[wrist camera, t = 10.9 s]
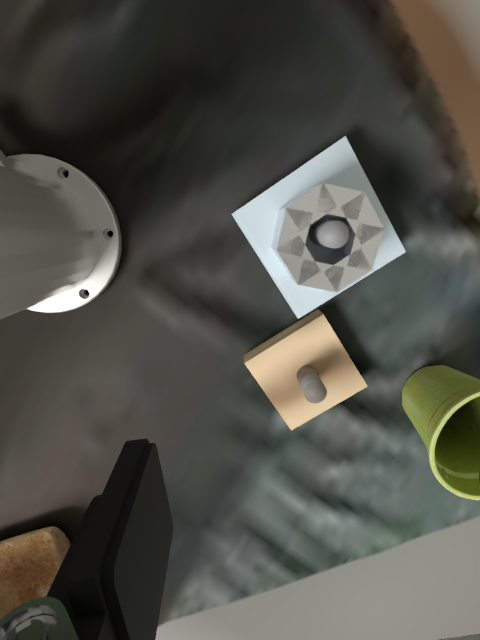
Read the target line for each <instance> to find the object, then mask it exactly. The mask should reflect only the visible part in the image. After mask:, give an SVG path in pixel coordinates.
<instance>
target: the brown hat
mask: <svg viewBox="0 0 480 640" xmlns="http://www.w3.org/2000/svg"><path fill="white" fill-rule="evenodd" d="M70 545H71V544H70V542H69V539H68V538H67V537H66V536H65V533H63V532H62V531H61V530H60V529H59V528H57V527H54V526H53V527H46V528H42V529H38V530H35V531H31V532H27V533H24V534H21V535H18V536H15V537H12V538H8V539H5V540H3V541H0V619H1V618H3V617H4V616H5V615H6V614H8V613H9V612H10V611H11V610H12V609H14V608H16V607H18V606H19V605H21V604H23V603H25V602H26V601H29V600H32V599H35V598H38V597H46V595H47V593H48V591H49V589H50V587H51V585H52V583H53V581H54V579H55V576H56V574H57V572H58V570H59V568H60V566H61V564H62V562H63V560H64V558H65V555H66V553H67V551H68V549H69V547H70Z"/></svg>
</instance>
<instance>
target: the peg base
mask: <svg viewBox="0 0 480 640" xmlns="http://www.w3.org/2000/svg"><path fill="white" fill-rule="evenodd" d="M321 183H326V184H330V185H335V186H339V187H344V188H349V189H353V190H358V191H362V192H365V194H366V196H367V197H368V199H369V201H370V203H371V205H372V207H373V209H374V210H375V212H376V214H377V216H378V218H379V220H380V222H381V223H382V225H383V227H384V228H385V230H384V232H383V236H382V239H381V243H380V246H379V249H378V253H377V256H376V259H375V263H374V266H373V270H372V271H370V272H369V273H367V274H366V275H364V276H362V277H361V278H359V279H358V280H356V281H354V282H353V283H351V284H350V285H348V286H347V287H345V288H343V289H342V290H340V291H339V292H338V293H336V292H332V291H327V290H322V289H317V288H311V287H306V286H301V285H297V284H296V283H295V282H294V281H293V280H292V279H291V278H290V277H289V275H288V274H287V272H286V271H285V269H284V267H283V266H282V264H281V263H280V261H279V260H278V258H277V256H276V255H275V253H274V252H273V250H272V248H271V243H272V239H273V234H274V230H275V225H276V221H277V216H278V211H279V210H280V209H282V208H283V207H285V206H286V205H288V204H289V203H290V202H292V201H293V200H295V199H296V198H298V197H299V196H301V195H302V194H304V193H305V192H307V191H308V190H309V189H310V188H313V187H315V186H317V185H319V184H321ZM232 216H233V218H234V219H235V221H236V222H237V224H238V225H239V227H240V229H241V230H242V232H243V233H244V235H245V236H246V238H247V240H248V241H249V243H250V244H251V246H252V247H253V249H254V251H255V252H256V254H257V255H258V257H259V258H260V260H261V262H262V263H263V265H264V266H265V268H266V270H267V271H268V273H269V274H270V276H271V277H272V279H273V281H274V282H275V284H276V285H277V287H278V288H279V290H280V292H281V293H282V295H283V296H284V298H285V299H286V301H287V303H288V304H289V306H290V307H291V309H292V310H293V312H294V313H295V315H296V316H297V318H298V319H299V318H300V317H302V316H304V315H305V314H307V313H308V312H310V311H312V310H313V309H315V308H317V307H318V306H320V305H321V304H323V303H325V302H326V301H328V300H329V299H331V298H333V297H334V296H336V295H337V294H339V293H341V292H342V291H344V290H345V289H347V288H349V287H350V286H352V285H353V284H355V283H357V282H358V281H360V280H361V279H363V278H365V277H366V276H368V275H369V274H371V273H373V272H374V271H376V270H377V269H379V268H381V267H382V266H384V265H385V264H387V263H389V262H390V261H392V260H394V259H395V258H397V257H398V256H400V255H402V254H403V253H405V252H406V251H405V249H404V247H403V245H402V244H401V242H400V240H399V238H398V236H397V234H396V232H395V230H394V228H393V226H392V224H391V222H390V221H389V219H388V217H387V215H386V213H385V211H384V209H383V207H382V205H381V203H380V201H379V199H378V197H377V196H376V194H375V192H374V190H373V188H372V186H371V184H370V182H369V180H368V178H367V176H366V174H365V173H364V171H363V169H362V167H361V165H360V163H359V161H358V159H357V157H356V155H355V153H354V151H353V150H352V148H351V146H350V144H349V142H348V140H347V138H346V136H345V137H343V138H342V139H340V140H339V141H337V142H336V143H335V144H333V145H332V146H330V147H329V148H327V149H326V150H324V151H323V152H321V153H320V154H319V155H317V156H316V157H314V158H313V159H311V160H310V161H308V162H307V163H305V164H304V165H302V166H301V167H300V168H298V169H297V170H295V171H294V172H292V173H291V174H289V175H288V176H286V177H285V178H284V179H282V180H281V181H279V182H278V183H276V184H275V185H273V186H272V187H270V188H269V189H268V190H266V191H265V192H263V193H262V194H260V195H259V196H257V197H256V198H254V199H253V200H252V201H250V202H249V203H247V204H246V205H244V206H243V207H241V208H240V209H238V210H237V211H236V212H234V213H233V214H232ZM348 238H349V229H348V227H347V225H346V224H345V223H343V222H341V221H331V219H329V218H324V217H321V218H320V219H318V220H317V221H315V222H314V223H312V224H311V225H310V227H309V231H308V235H307V239H306V243H305V246H306V247H307V249H308V251H309V252H310V254H311V256H312V257H313V258H314V259H319V260H320V259H322V258H323V257H325V256H326V255H328V254H329V253H331V252H332V251H334V249H335V248H340V247H342V246H343V245H344V244H345V243H346V242H347V240H348Z"/></svg>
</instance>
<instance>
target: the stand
mask: <svg viewBox="0 0 480 640" xmlns="http://www.w3.org/2000/svg"><path fill="white" fill-rule="evenodd" d="M244 364H245V365H246V366H247V368H248V369H249V371H250V372H251V374H252V375H253V376H254V378H255V379H256V381H257V382H258V384H259V385H260V386H261V388H262V389H263V391H264V392H265V393H266V395H267V396H268V398H269V399H270V401H271V402H272V403H273V405H274V406H275V408H276V409H277V411H278V412H279V413H280V415H281V416H282V418H283V419H284V421H285V422H286V423H287V425H288V426H289V428H290V429H291V430H293V429H295V428H297V427H298V426H300V425H302V424H303V423H305V422H307V421H309V420H310V419H312V418H314V417H316V416H317V415H319V414H321V413H322V412H324V411H326V410H328V409H329V408H331V407H333V406H335V405H336V404H338V403H340V402H341V401H343V400H345V399H347V398H348V397H350V396H352V395H354V394H355V393H357V392H359V391H361V390H362V389H364V388H366V387H367V384H366V383H365V381H364V380H363V378H362V376H361V375H360V373H359V371H358V370H357V368H356V367H355V365H354V363H353V362H352V360H351V358H350V357H349V355H348V353H347V352H346V350H345V349H344V347H343V345H342V344H341V342H340V340H339V339H338V337H337V335H336V334H335V332H334V331H333V329H332V327H331V326H330V324H329V322H328V321H327V319H326V318H325V316H324V314H323V313H322V312H321V311H320V310H319V309H317V310H315V311H314V312H312V313H311V314H309V315H307V316H306V317H304V318H303V319H301V320H299V321H298V322H296V323H295V324H293V325H291V326H290V327H288V328H286V329H285V330H283V331H282V332H280V333H278V334H277V335H275V336H274V337H272V338H270V339H269V340H267V341H266V342H264V343H262V344H261V345H259V346H258V347H256V348H254V349H253V350H251V351H250V352H248V353H246V354H245V355H244Z"/></svg>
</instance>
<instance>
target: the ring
mask: <svg viewBox="0 0 480 640" xmlns="http://www.w3.org/2000/svg"><path fill="white" fill-rule="evenodd" d="M321 217H324V218H329V219H331V221H341V222H343V223H345V224H346V225H347V227H348V229H349V238H348V240H347V242H346V243H345V244H344V245H343V246H342V247H340V248H335V249H334V251H332V252H331V253H329V254H328V255H326V256H325V257H323V258H322V259H320V260H319V259H314V258H313V257H312V256H311V254H310V252H309V251H308V249H307V247H306V246H305V243H306V239H307V235H308V231H309V227H310V225H311V224H312V223H314V222H315V221H317V220H318V219H320V218H321ZM384 230H385V228H384V227H383V225H382V223H381V222H380V220H379V218H378V216H377V214H376V212H375V210H374V209H373V207H372V205H371V203H370V201H369V199H368V197H367V196H366V194H365V192H362V191H358V190H353V189H349V188H344V187H339V186H335V185H330V184H326V183H321V184H319V185H317V186H315V187H313V188H310V189H309V190H308V191H307V192H305V193H304V194H302V195H301V196H299V197H298V198H296V199H295V200H293V201H292V202H290V203H289V204H288V205H286V206H285V207H283V208H282V209H280V210H279V211H278V216H277V221H276V225H275V230H274V234H273V239H272V243H271V248H272V250H273V252H274V253H275V255H276V256H277V258H278V260H279V261H280V263H281V264H282V266H283V267H284V269H285V271H286V272H287V274H288V275H289V277H290V278H291V279H292V280H293V281H294V282H295V283H296V284H297V285H301V286H306V287H311V288H317V289H322V290H327V291H332V292H336V293H338V292H339V291H340V290H342V289H343V288H345V287H347V286H348V285H350V284H351V283H353V282H354V281H356V280H358V279H359V278H361V277H362V276H364V275H366V274H367V273H369V272H370V271H372V270H373V266H374V263H375V259H376V256H377V253H378V249H379V246H380V243H381V239H382V236H383V232H384Z"/></svg>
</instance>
